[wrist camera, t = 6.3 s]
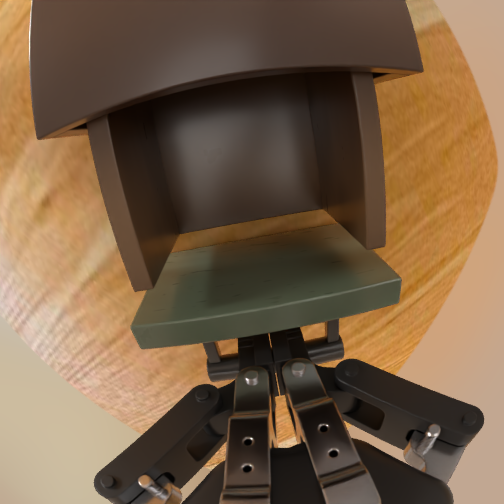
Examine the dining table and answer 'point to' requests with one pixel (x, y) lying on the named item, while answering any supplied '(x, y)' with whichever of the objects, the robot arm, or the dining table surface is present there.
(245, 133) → the drawer
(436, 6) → the dining table surface
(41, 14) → the cabinet
